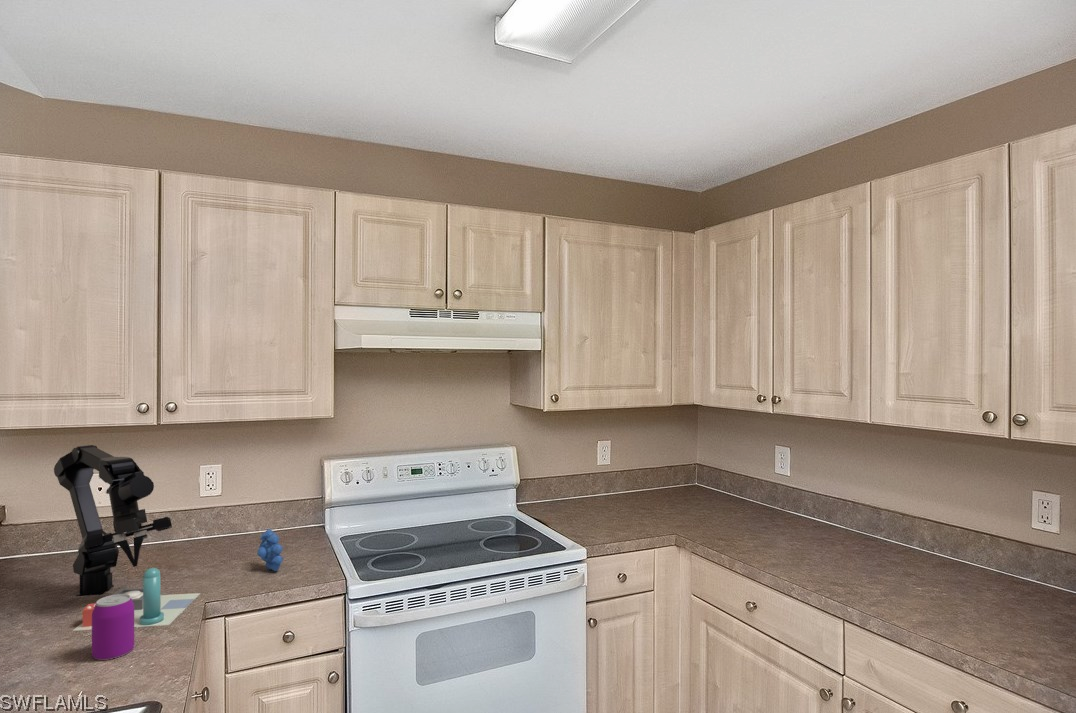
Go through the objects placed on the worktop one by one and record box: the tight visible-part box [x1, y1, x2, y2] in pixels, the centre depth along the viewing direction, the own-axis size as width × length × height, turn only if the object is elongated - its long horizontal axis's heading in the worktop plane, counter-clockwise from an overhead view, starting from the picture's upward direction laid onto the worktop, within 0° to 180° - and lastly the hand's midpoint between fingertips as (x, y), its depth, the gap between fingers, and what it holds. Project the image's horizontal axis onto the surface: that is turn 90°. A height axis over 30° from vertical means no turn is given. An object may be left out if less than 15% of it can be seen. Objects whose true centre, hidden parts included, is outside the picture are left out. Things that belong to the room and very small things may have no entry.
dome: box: [124, 591, 143, 599], centre depth 163 cm, size 6×6×2 cm
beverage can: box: [91, 594, 135, 661], centre depth 137 cm, size 8×8×12 cm
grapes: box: [256, 528, 284, 572], centre depth 189 cm, size 12×7×12 cm, turn 48°
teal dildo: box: [140, 567, 164, 625], centre depth 153 cm, size 5×5×13 cm
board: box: [72, 592, 201, 632], centre depth 159 cm, size 21×20×1 cm
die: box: [82, 602, 96, 627], centre depth 152 cm, size 4×4×4 cm
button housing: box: [112, 587, 143, 610], centre depth 163 cm, size 9×9×2 cm
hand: (135, 566), depth 160 cm, fingers closed
